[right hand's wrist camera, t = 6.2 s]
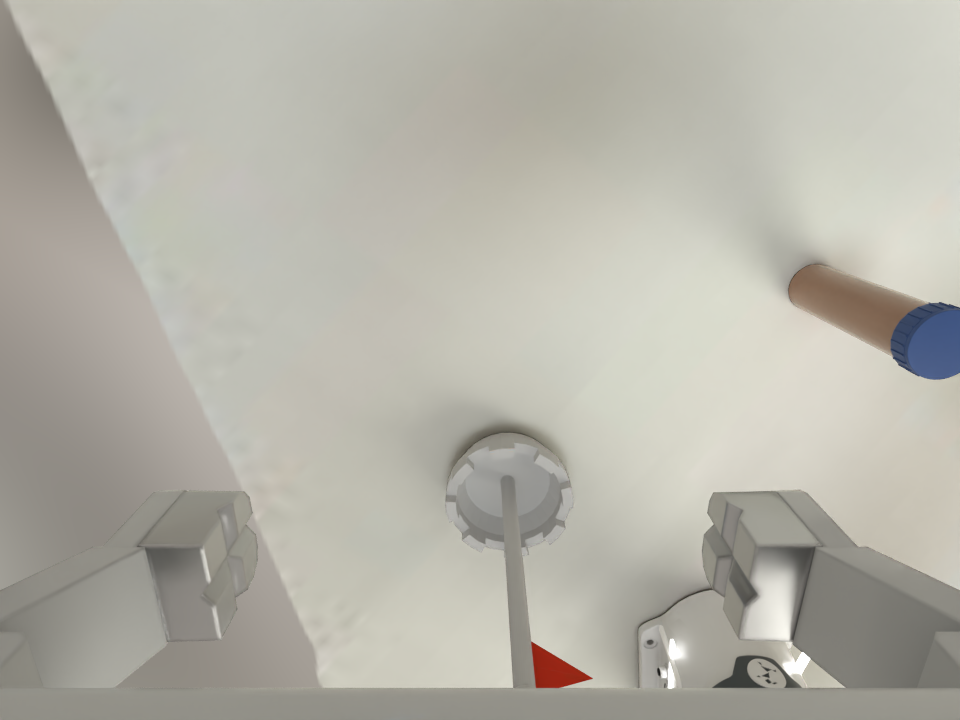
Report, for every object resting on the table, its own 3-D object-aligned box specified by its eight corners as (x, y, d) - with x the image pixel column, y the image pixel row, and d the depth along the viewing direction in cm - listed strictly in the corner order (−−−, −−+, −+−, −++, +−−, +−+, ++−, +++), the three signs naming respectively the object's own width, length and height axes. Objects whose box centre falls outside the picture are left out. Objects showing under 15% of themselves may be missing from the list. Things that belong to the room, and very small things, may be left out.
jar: (839, 300, 58) (977, 361, 42) (792, 316, 59) (911, 382, 43) (832, 257, 57) (972, 302, 41) (784, 273, 57) (903, 325, 41)
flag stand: (436, 512, 67) (403, 783, 39) (464, 411, 62) (451, 632, 34) (546, 537, 68) (593, 817, 40) (581, 439, 64) (663, 676, 35)
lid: (967, 356, 44) (988, 366, 42) (893, 380, 44) (911, 390, 42) (961, 291, 42) (982, 298, 40) (884, 316, 43) (902, 324, 41)
